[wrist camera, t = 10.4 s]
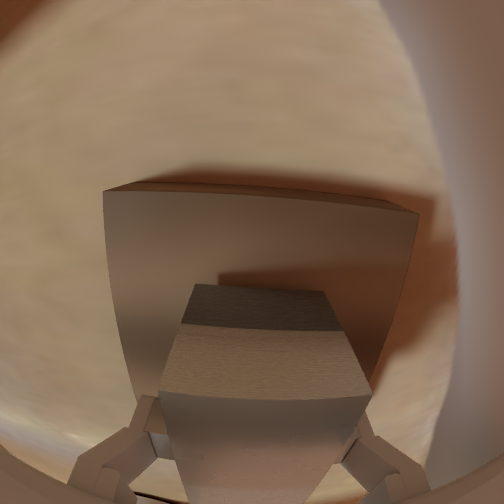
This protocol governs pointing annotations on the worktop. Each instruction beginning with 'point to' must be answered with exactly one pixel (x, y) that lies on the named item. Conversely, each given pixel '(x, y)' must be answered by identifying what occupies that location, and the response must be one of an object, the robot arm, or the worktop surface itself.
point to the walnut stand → (249, 259)
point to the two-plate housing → (259, 394)
